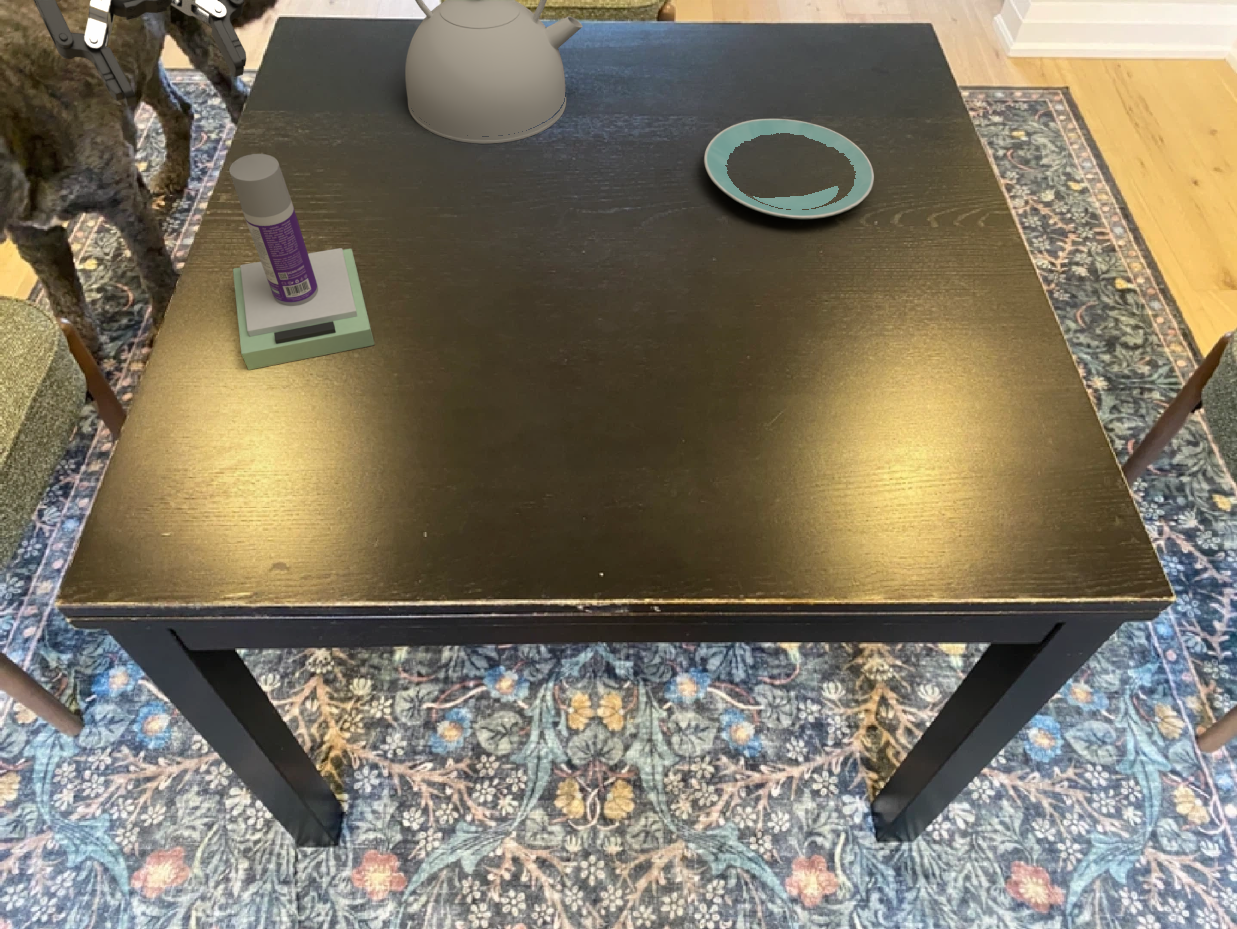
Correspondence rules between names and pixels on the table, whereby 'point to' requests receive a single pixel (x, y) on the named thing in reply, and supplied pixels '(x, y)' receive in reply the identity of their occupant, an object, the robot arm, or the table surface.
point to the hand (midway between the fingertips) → (187, 86)
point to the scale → (302, 313)
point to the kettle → (486, 70)
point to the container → (274, 228)
